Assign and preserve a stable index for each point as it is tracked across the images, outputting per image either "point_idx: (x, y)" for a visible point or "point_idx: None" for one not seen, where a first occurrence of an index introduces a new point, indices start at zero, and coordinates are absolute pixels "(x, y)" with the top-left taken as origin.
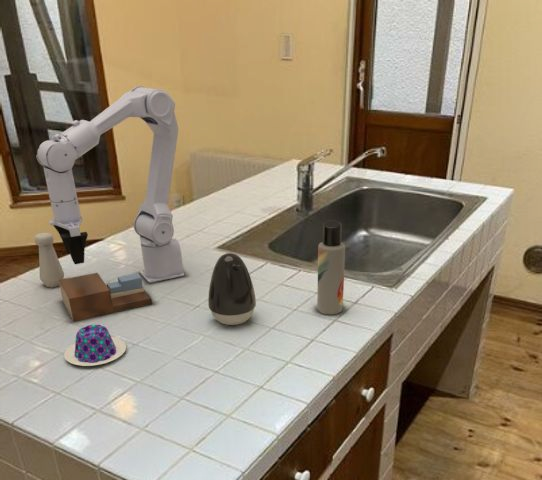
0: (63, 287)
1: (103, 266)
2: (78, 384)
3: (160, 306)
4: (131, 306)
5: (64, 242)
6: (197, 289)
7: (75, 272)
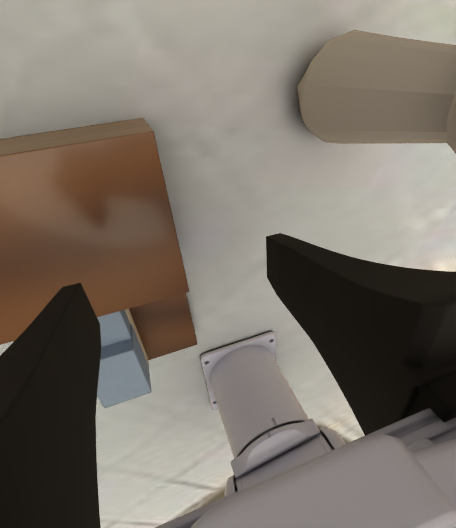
0: (28, 156)
1: (364, 247)
2: None
3: None
4: None
5: (307, 264)
6: (130, 434)
7: (373, 172)
